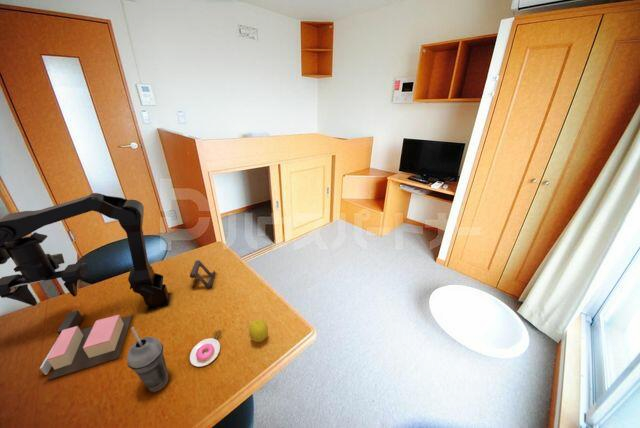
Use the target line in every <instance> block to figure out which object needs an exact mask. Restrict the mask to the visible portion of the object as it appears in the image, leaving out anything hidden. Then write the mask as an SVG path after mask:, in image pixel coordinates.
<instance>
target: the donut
mask: <svg viewBox="0 0 640 428" xmlns="http://www.w3.org/2000/svg"><path fill="white" fill-rule="evenodd" d="M219 332H220V331H219ZM219 332H218V333H217V336H215V338H213V337H210V338H205V339H202V340H201V341H199V342H198V343H196V344H195V346H193V348H192V349H191V352H190V354H189V362H190V364H191V365H192V366H194V367H198V368H201V367H204V366H207V365H210V364H211V363H212V362H213V361H214V360H215V359H217V357H218V355H219V353H220V350H221V343H220V342H219V341H218V336H219Z"/></svg>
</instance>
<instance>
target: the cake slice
mask: <svg viewBox="0 0 640 428" xmlns="http://www.w3.org/2000/svg"><path fill="white" fill-rule="evenodd" d="M80 330H81V328H80V327H79V325H78V326H75V327H72V328H68V329H65V330H62V332H61V334H60V336H59V335H58V337H57V339H56V341H55V342H56V343H55V342H54V344H55V345H54V344H53V345H54V347H53V346H52V347H53V349H52V348H51V349H52V351H51V352H50V351H49V352H50V354H49V353H48V354H49V356H48V358H47V360H48V362H49V363H50V364H51V366H52V367H51V368H53V370H55V369H58V368H61V367H64V366H67V365H70V364H71V363H72V361H73V359H74V356H75V354H76V352H77V349H78V347H79V345H80V342H81V340H82V338H83V334H82V332H81V331H80Z"/></svg>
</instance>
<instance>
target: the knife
mask: <svg viewBox="0 0 640 428" xmlns="http://www.w3.org/2000/svg"><path fill="white" fill-rule="evenodd" d="M82 320H83V316H82V314H81V312H80V310H74V311H69V312H68V314H67V315H66V317H65V318H64V320H63V321H62V323H61V325H60V326H59V328H58V329H57V331H56V333H57V334H58V337H59V336H60V334H61V332H62V330H65V329H68V328H72V327H75V326H78V327H79V325H80V323H81V322H82ZM55 343H56V341H55V342H54V344H53V345H52V347H51V348H50V350H49V352H48V354H47V356H45V358H44V360H43V362H42V364H41V365H40V367H39V370H40V371H41V372H42V373H43V375H44V376H47V375H48V374H49V372H50V370H51V369H52V368H53V367H52V366H51V364H50V363H49V362H48V360H47V358H48V356H49V354H50V352H51V351H52V349H53V347H54V345H55Z"/></svg>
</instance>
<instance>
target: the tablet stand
mask: <svg viewBox="0 0 640 428" xmlns="http://www.w3.org/2000/svg"><path fill="white" fill-rule="evenodd" d="M200 268H201V269H202V270H203V271H204V272H205V273H206V274H207V276H209V279H208V282H207V281H206V280H205V279H204V278H203V277H202V276H201V274H200V273H198V272H199V269H200ZM215 275H216V271H215V270H213V272H211V271H209V269H208V268H207V267H206V266H205V265H204V263H202V261H201V260H199V259H197V260H195V261H194V264H193V266H192V269H191V271H190V273H189V278H191V279H194V280H193V283H192V286H191V287H192V288H194V285H195V282H196V280H197V279H198V281H200V282H201V284H203V286H205V288H207V289H209V290H210V289H212V288H213V283H214V280H215Z"/></svg>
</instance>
